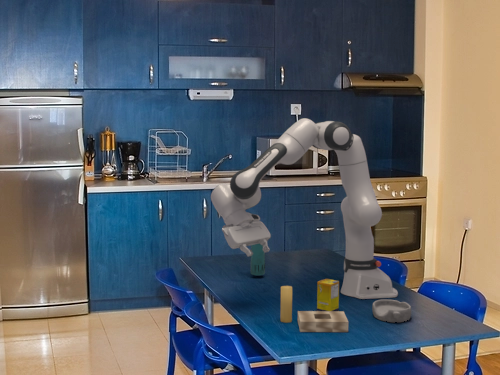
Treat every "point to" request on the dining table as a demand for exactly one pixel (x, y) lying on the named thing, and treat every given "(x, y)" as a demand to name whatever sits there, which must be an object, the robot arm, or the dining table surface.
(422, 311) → the dining table surface
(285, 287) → the pin
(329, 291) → the supplement box
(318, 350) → the dining table surface
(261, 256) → the beverage bottle
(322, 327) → the hole block
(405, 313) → the dish
